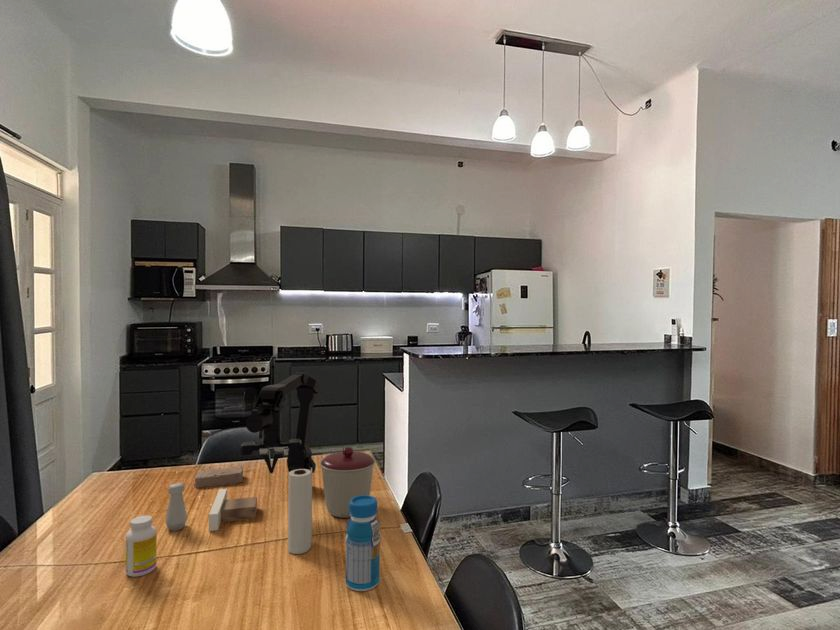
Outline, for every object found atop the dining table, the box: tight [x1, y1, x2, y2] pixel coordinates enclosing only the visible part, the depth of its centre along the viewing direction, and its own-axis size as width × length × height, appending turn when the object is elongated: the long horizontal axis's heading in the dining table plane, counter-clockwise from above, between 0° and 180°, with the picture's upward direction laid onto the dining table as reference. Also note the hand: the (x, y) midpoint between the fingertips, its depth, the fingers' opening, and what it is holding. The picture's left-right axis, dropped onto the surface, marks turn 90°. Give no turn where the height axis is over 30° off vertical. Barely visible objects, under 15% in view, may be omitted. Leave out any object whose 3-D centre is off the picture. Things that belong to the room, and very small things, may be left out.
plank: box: [208, 488, 228, 532], centre depth 147 cm, size 2×20×5 cm, turn 16°
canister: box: [319, 446, 376, 519], centre depth 152 cm, size 18×18×21 cm
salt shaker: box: [164, 482, 188, 532], centre depth 139 cm, size 6×6×13 cm
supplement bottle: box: [125, 515, 157, 578], centre depth 116 cm, size 7×7×13 cm
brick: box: [194, 465, 244, 489], centre depth 177 cm, size 17×8×5 cm, turn 109°
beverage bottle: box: [344, 495, 382, 592], centre depth 112 cm, size 8×8×20 cm
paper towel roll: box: [287, 468, 313, 555], centre depth 128 cm, size 7×6×21 cm
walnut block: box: [221, 496, 258, 523], centre depth 149 cm, size 10×8×4 cm
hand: (271, 473), depth 151 cm, fingers closed
